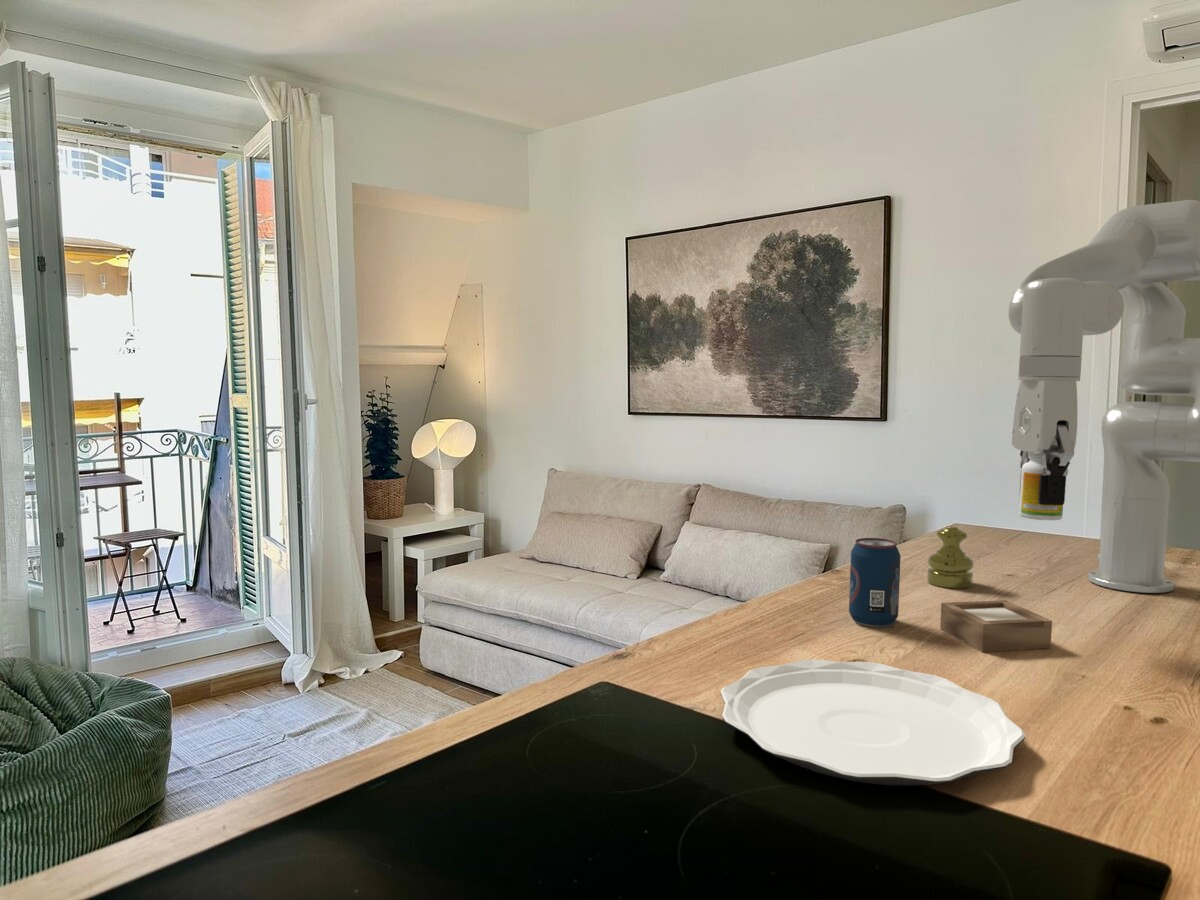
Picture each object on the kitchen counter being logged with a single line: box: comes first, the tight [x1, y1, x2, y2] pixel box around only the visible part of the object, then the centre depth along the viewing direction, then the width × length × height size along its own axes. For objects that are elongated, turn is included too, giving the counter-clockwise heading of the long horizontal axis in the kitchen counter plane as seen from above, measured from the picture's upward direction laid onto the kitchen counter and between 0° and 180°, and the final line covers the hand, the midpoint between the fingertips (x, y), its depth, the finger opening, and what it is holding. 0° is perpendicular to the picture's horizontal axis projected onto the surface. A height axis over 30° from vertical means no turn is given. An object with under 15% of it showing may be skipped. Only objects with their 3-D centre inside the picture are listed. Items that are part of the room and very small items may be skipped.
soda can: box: [848, 537, 901, 628], centre depth 124 cm, size 7×7×12 cm
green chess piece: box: [926, 525, 975, 590], centre depth 146 cm, size 7×7×10 cm
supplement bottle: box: [1018, 449, 1064, 521], centre depth 117 cm, size 5×5×10 cm
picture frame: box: [939, 599, 1053, 653], centre depth 117 cm, size 10×10×4 cm
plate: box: [720, 659, 1026, 787], centre depth 88 cm, size 29×29×2 cm
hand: (1041, 499), depth 117 cm, fingers closed on supplement bottle, 5 cm apart
